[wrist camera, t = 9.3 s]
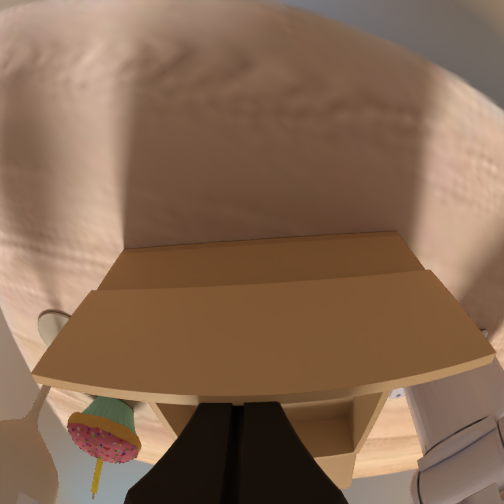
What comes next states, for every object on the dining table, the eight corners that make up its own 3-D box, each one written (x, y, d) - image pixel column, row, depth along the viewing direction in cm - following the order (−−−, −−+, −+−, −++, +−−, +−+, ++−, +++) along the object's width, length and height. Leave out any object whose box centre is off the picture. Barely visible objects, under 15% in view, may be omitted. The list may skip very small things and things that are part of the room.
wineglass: (32, 298, 21) (-73, 500, 3) (106, 330, 22) (25, 571, 4) (42, 349, 25) (-29, 518, 7) (106, 377, 26) (52, 565, 8)
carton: (396, 230, 17) (431, 278, 13) (350, 414, 28) (358, 453, 24) (123, 249, 18) (91, 298, 14) (195, 422, 29) (189, 460, 25)
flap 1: (36, 383, 9) (30, 373, 8) (94, 298, 14) (91, 290, 14) (491, 362, 8) (496, 352, 7) (428, 278, 13) (430, 269, 13)
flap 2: (350, 487, 25) (349, 484, 25) (356, 453, 24) (355, 450, 25) (201, 494, 26) (202, 491, 26) (191, 461, 25) (192, 458, 26)
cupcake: (152, 429, 31) (135, 513, 21) (90, 413, 31) (66, 490, 21) (142, 395, 27) (117, 500, 17) (71, 376, 27) (34, 467, 16)
